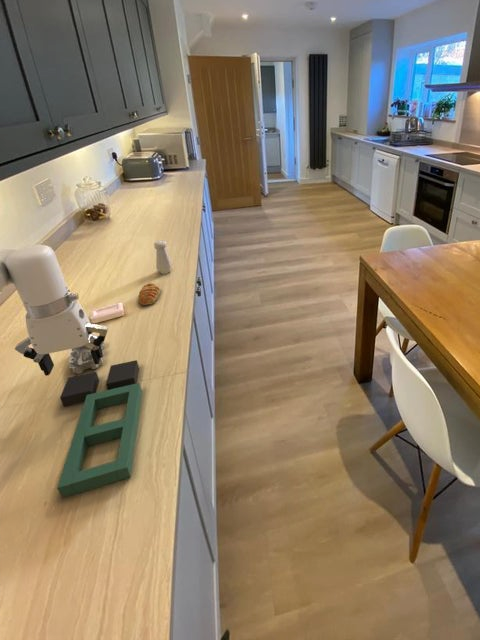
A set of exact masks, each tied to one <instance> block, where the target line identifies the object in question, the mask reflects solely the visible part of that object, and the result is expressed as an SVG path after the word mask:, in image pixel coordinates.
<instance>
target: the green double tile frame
mask: <svg viewBox="0 0 480 640" xmlns="http://www.w3.org/2000/svg"><path fill="white" fill-rule="evenodd" d="M142 389H143V388H142V386H141V383H140V382H137V384H132V385H128V386H123V387H119V388H115V389H111V390H108V389H106V390H103V391H98V392H96V393H93V394H89V395H87V396H86V399H85V402H83V406H82V409H81V412H80V416H79V418H78V421H77V425H76V428H75V430H74V434H73V437H72V440H71V443H70V447H69V450H68V452H67V456H66V459H65V462H64V466H63V468H62V472H61V473H60V478H59V481H58V484H57V487H56V489H57V490H58V493H59V495H60V496H61V498H62V499H63V498H64V499H65V498H67V497H71V496H73V495H76V494H81V493H83V492H87V491H90V490H94V489H96V488H100V487H103V486H107V485H110V484H113V483H116V482H119V481H123V480H125V479H126V480H127V479H129V478H131V477H132V468H133V463H134V455H135V448H136V447H135V446H136V439H137V433H138V427H139V426H138V425H139V417H140V411H141V404H142V397H143V395H142V394H143V390H142ZM124 403H126V409H125V413H124V418H120V419H116V420H112V421H108V422H104V423H101V424H96V425H95V421H96V418H97V414H98V410H99V409H104V408H107V407H112V406H115V405H119V404H124ZM117 439H120V440H119V441H120V442H119V447H118V453H117V457H116V458H117V459H116V460H113V461H110V462H106V463H103V464H99V465H96V466H93V467H90V468H86V469H83V466H84V462H85V459H86V455H87V451H88V448H89V447H92V446H94V445H98V444H102V443H106V442H110V441H113V440H117Z"/></svg>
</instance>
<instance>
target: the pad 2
mask: <svg viewBox="0 0 480 640" xmlns="http://www.w3.org/2000/svg"><path fill="white" fill-rule="evenodd" d="M139 372H140V366H139V362H138V360H137V359H136V360H130V361H126V362H121V363H116V364H111V365H110V368H109V371H108V374H107V379H106V384H105V385H106V388H107V389H106V390H111V389H115V388H119V387H123V386H128V385H132V384H137V383H138V380H139V379H138V378H139V374H140V373H139Z"/></svg>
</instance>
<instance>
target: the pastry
mask: <svg viewBox="0 0 480 640" xmlns="http://www.w3.org/2000/svg"><path fill="white" fill-rule="evenodd" d="M160 292H161V287H160V286H158V285H157V284H156V283H152V282H151V283H146V284H144V285H143V286H142V287H141V289H140V290H139V292H138V300H139V302H140V304H141V305H142V306H147V305H152V304H154V303H155V301H156V300H158V298H159V296H160Z"/></svg>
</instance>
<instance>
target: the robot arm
mask: <svg viewBox="0 0 480 640" xmlns="http://www.w3.org/2000/svg"><path fill="white" fill-rule="evenodd" d="M58 261H59V260H58V259H57V256H56V253H55V251H54V249H53V248H52V247H51V246H49V245H46V244H31V245H26V246H22V247H19V248H0V295H1V294H2V293H3V292H4V290H5V288H6V287H7V286H9V285H10V284H11V285H12V284H14V287H15V289H16V291H17V294H18V296H19V298H20V300H21V302H22V304H23V306H24V309H25V311H26V314H25V325H26V330H27V334H28V336H27V337H26V338H24V339H23V340H21V341H19V342H18V343H16V345H15V347H14V350H15V351H17V352H18V353H19V354H21V355H23V357H24V358H26V359H29V360H32V362H33V363H37V364H38V366H39V368H40V371H42V372H43V374H44V376H45V377H47V376H50V375H51V373H52V371H53V368H55V367H54V366H55V364H54V361H53V359H52V357H51V355H50V354H53V353H57V352H58V353H59V352H64V351H68V350H72V349H73V348H77V347H81V346H86V347H88V348H90V349H91V355H92V358H93V360H94V363H95V364H99V362H100V358H102V359H103V357H104V355H103V353H104V351H103V352H102V350H103V348H102V349H101V346H100V345H101V344H102V343H103V341H104V342H105V340H106V337H107V335H108V331H109V326H107V325H102V324H96V323H94V324H92V323H91V320H90V318H89V316H88V315H87V313H86V311H85V309H84V307H83V306H82V305H81V304H80V302H79V301H78V300H79V294H78V293H72V292H71V290H70V289H69V287H68V285H67V283H66V279H65V277H64V274H63V272H62V269H61V266H60V263H59V262H58ZM93 333H95V334H99V335H97V336H98V337H97V336H95V335H94V334H93ZM89 340H90V341H92V342H90V341H89ZM30 345H32V347H30Z"/></svg>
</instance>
